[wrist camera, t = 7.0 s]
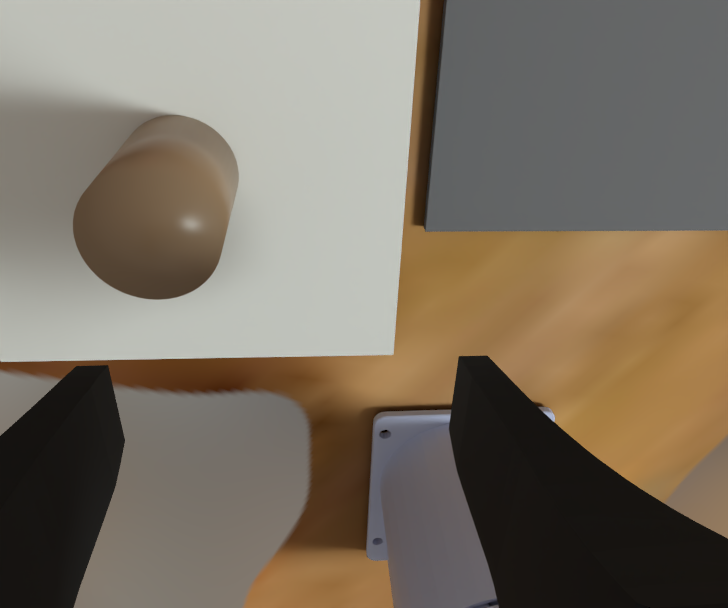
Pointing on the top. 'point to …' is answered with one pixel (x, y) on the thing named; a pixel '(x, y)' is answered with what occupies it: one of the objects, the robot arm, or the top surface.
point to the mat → (580, 116)
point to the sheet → (292, 162)
